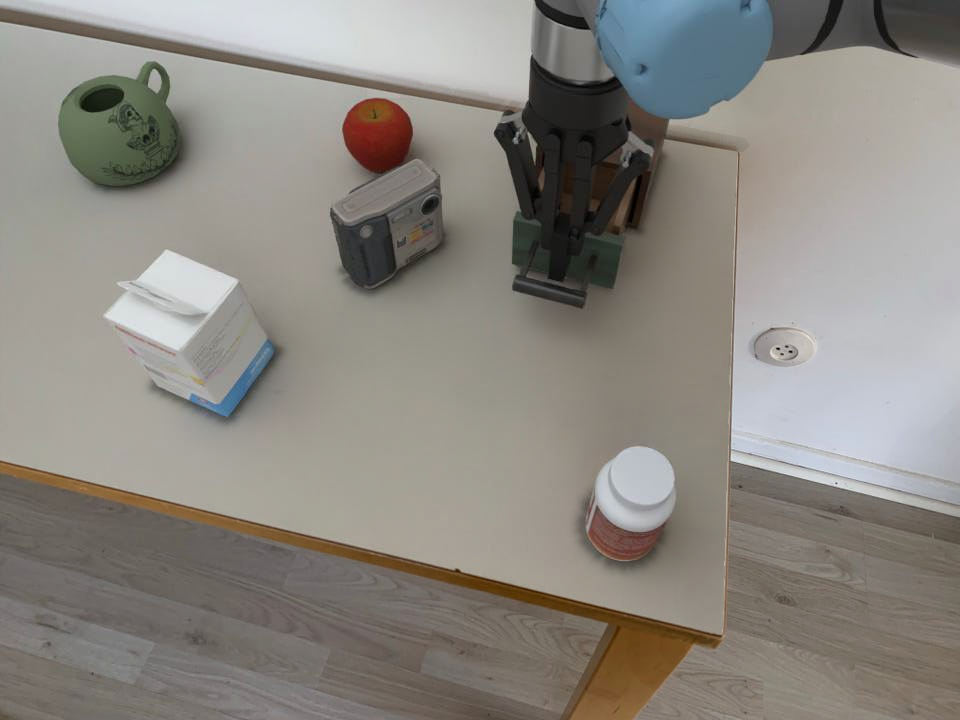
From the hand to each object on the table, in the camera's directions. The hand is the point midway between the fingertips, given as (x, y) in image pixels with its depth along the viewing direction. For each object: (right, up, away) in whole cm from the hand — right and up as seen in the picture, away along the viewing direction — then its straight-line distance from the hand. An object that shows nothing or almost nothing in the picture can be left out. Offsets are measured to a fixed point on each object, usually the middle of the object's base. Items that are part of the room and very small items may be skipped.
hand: (559, 270), depth 71 cm
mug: (-49, +17, +18) cm, 55 cm away
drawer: (+2, +2, +6) cm, 6 cm away
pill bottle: (+4, -23, -9) cm, 25 cm away
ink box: (-33, -10, 0) cm, 35 cm away
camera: (-17, +2, +8) cm, 19 cm away
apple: (-19, +15, +16) cm, 29 cm away
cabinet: (+6, +12, +13) cm, 19 cm away
